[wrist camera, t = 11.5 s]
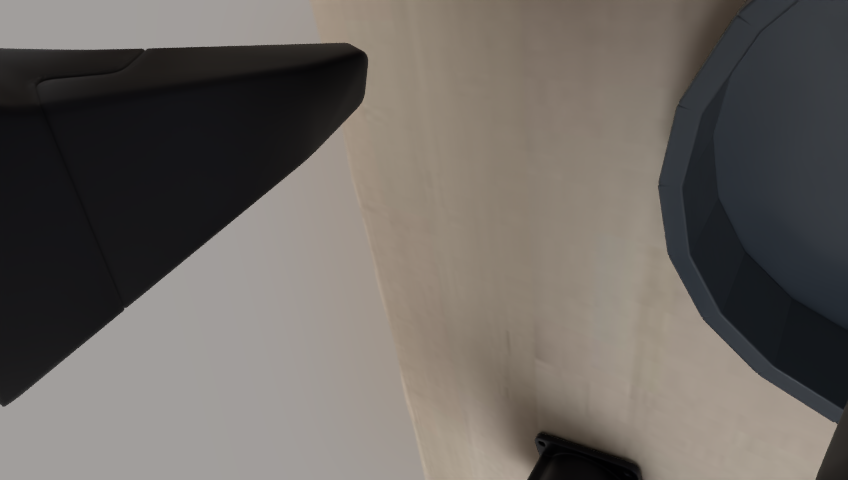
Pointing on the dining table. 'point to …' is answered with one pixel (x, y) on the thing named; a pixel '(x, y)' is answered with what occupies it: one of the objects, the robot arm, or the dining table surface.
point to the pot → (769, 195)
